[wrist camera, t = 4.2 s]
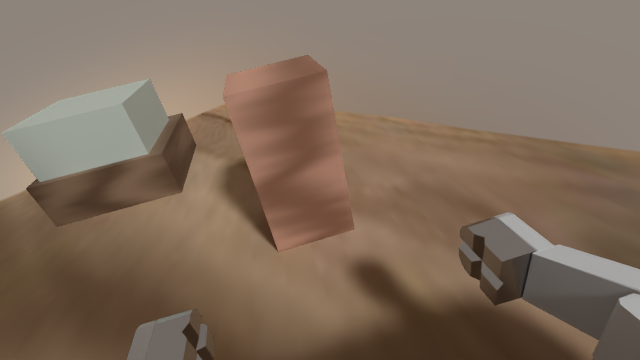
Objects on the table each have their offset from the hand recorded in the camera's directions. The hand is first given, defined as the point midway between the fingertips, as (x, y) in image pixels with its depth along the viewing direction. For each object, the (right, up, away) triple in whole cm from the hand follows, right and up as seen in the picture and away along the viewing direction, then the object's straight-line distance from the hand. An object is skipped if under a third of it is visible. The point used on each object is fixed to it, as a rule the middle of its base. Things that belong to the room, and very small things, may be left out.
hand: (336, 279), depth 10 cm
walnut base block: (-19, +3, +24) cm, 31 cm away
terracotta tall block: (-1, 0, +13) cm, 13 cm away
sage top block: (-20, +6, +21) cm, 30 cm away
